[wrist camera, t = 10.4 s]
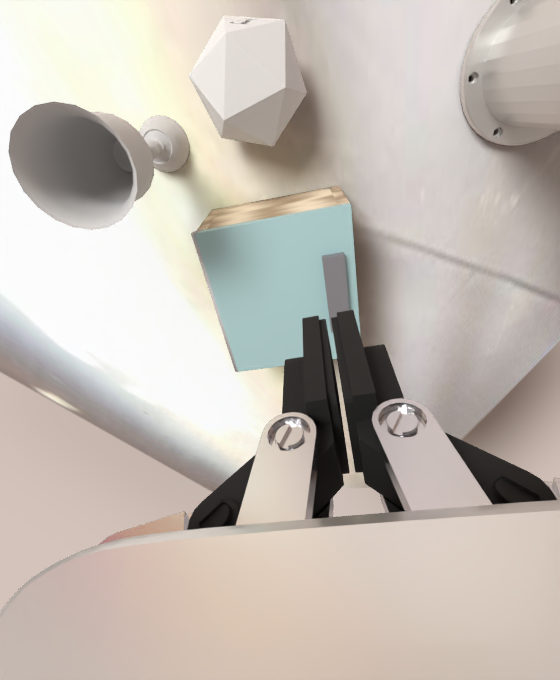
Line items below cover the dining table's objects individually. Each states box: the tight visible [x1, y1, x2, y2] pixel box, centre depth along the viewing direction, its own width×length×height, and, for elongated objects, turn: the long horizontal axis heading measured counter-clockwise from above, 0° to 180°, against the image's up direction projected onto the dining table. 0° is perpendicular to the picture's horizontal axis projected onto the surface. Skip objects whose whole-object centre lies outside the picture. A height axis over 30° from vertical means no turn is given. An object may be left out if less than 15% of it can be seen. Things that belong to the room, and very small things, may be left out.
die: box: [189, 16, 307, 146], centre depth 30 cm, size 8×9×10 cm
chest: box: [197, 186, 349, 231], centre depth 39 cm, size 14×16×8 cm
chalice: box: [9, 102, 189, 230], centre depth 28 cm, size 7×7×18 cm
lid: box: [191, 203, 360, 372], centre depth 35 cm, size 14×16×2 cm
